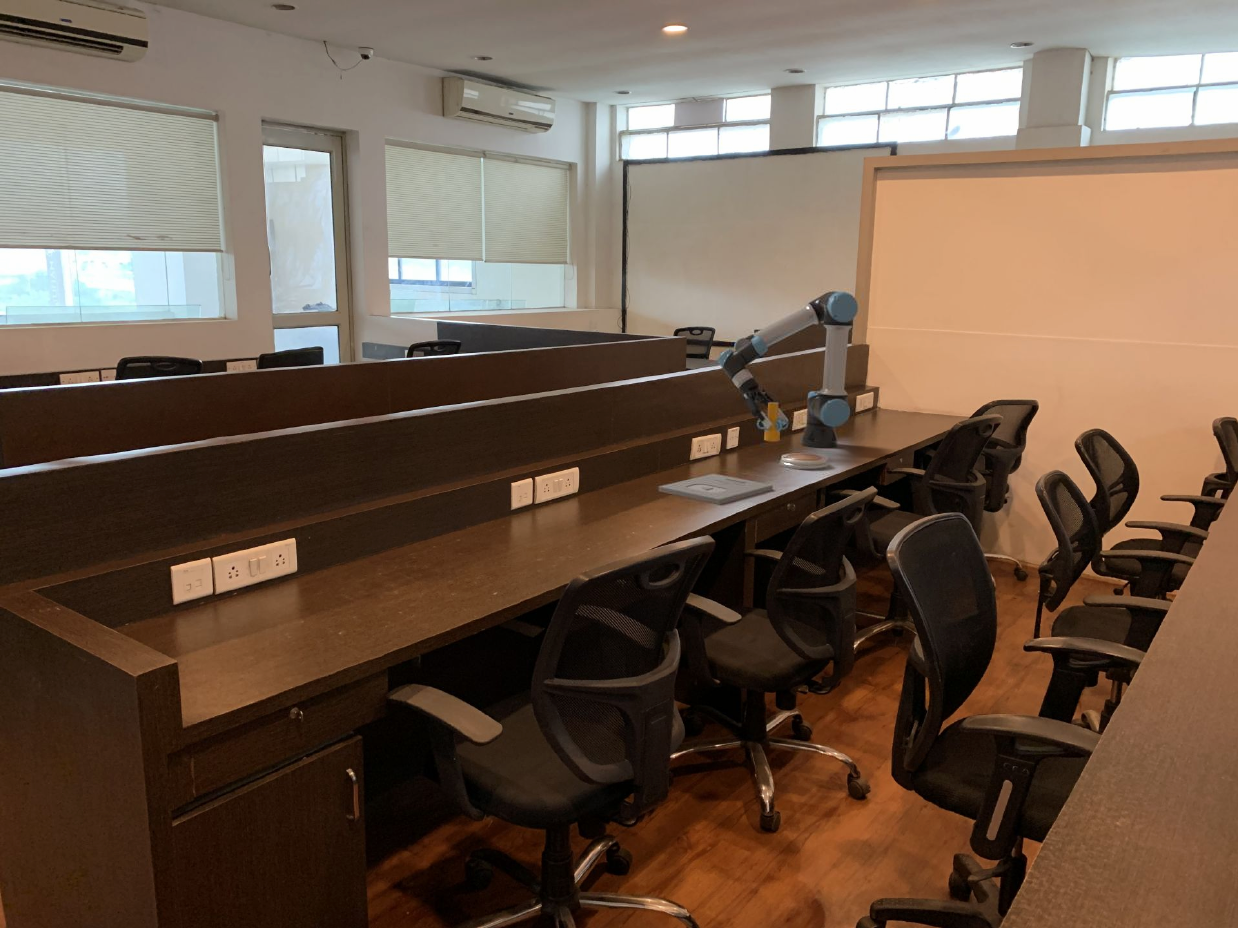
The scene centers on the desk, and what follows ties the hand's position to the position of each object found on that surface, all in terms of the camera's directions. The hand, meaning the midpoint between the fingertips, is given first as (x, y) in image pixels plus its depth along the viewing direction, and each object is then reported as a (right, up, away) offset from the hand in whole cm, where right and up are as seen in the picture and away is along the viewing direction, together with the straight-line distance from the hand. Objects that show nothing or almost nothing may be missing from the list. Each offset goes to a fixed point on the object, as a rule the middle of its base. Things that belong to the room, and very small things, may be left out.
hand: (778, 424), depth 363 cm
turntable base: (+8, -16, -12) cm, 21 cm away
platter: (+8, -14, -12) cm, 20 cm away
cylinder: (-2, -6, +3) cm, 7 cm away
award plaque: (-30, -25, -56) cm, 68 cm away
